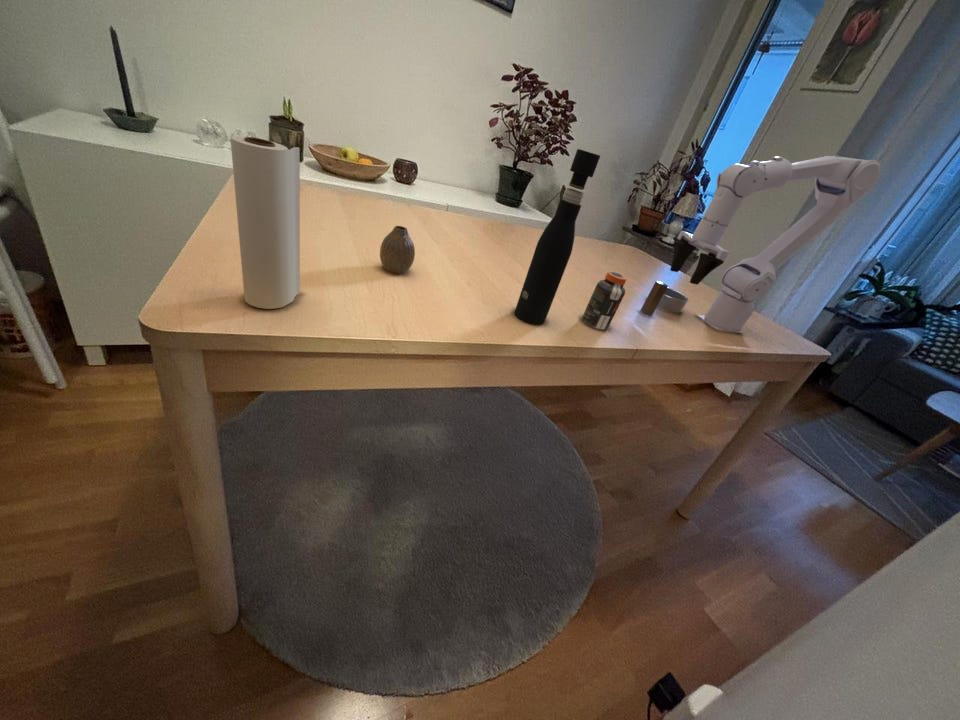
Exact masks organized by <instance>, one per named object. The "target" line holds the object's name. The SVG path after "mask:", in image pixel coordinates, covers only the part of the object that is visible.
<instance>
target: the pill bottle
mask: <svg viewBox="0 0 960 720" xmlns="http://www.w3.org/2000/svg"><path fill="white" fill-rule="evenodd" d="M627 279H628V278H627V277H626V276H625V275H623V274H621V273H620V272H616V271H613V270H612V271H611V270H608V271H607V273H606V274H605V277H604V279H601V280H599V281H597V283H596V286H595V288H594V290H593V292H592V294H591V296H590V299H589V300H588V302H587V305H586V308H585V309H584V312H583V315H582V317H581V319H582V321H583V322H584V323H585V324H587V325H588V326H590V327H591V328H594V329H597V330H607V329H609V327H610V325H611V323H612V321H613V319H614V317H615V315H616V313H617V311H618V309H619V307H620V305H621V303H622V302H623V299H624V297H625V295H626V288H625V287H624V285H625V284H626V281H627Z"/></svg>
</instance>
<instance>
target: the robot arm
mask: <svg viewBox="0 0 960 720" xmlns="http://www.w3.org/2000/svg"><path fill="white" fill-rule="evenodd" d="M880 173H881V163H880V162H879V161H877V160H876V159H875V160H874V159H868V160H867V159H859V158H853V157H845V156H841V155H838V154H837V155H824V156H821V157H816V158H811V159H807V160H801V161H796V162H793V163H792V162H790V161H789V160H788V159H787V158H784V157H783V156H777V155H776V156H772V158H771V159H770V160H766V161H759V160H751V161H750V163H749V164H741V163H733V164H730V165H729V166H727V167H726V168H725V169H724V170H723V171H722V172H721V173H718V175H717V177H716V178H717V179H716V188H715V191H714V192H713V197H712V199H711V201H710V202H709V205H708V207H707V208H706V210H705V212H704V213H703V215H702V218H701V219H700V221H699V223H698V225H697V226H696V227H695V230H694V232H693V233H690V232H688V231H684V230H681V231H680V232H679V234H678V236H677V239H678V240H674V241H673V256H672V260H671V261H672V262H671V265H670V269H669V270H670V272H674V273H679V271H680V270H681V269H682V267H683V266H684V264H685V263H686V261H687V260H688V258H689V257H690V256H691V255H692V253H693V252H694V251H695V250H696V249H699V250H701V251H702V252H700V253H699V259H698V261H697V265H696V268H695V270H694V272H693V274H692V276H691V278H690V279H689V283H690V284H692V285H696V286H697V285H699V284H700V283H701V282H702V281H703V280H704V279H705V278H706V277H707V276H708V275H709V274H710V273H711V272H713V271H714V270H715V269H717V268H718V267H720V266H722V265H723V264H724V262H725V261H726V259H727V258H728V256H729V254H730V253H731V252H730V251H729V250H727V249H725V248H723V247H722V246H720V245H718V244H719V242H720V241H721V239H722V237H723V235H724V233H725V232H726V230H727V228H728V226H729V225H730V223H731V221H732V220H733V218H734V217H735V215H736V213H737V211H738V210H739V208H740V207H741V205H742V203H743V201H744V199H745V198H747V197H750V196H751V195H754V193H755V192H758V191H765V190H772V189H780V188H782V187H784V186H785V185H786V184H787V183H788V182H789V181H795V180H796V181H797V180H803V179H804V180H805V179H813V178H814V198H815V200H816V204H815V205H814V207H812V208H811V209H810V210H809V211H808V212H806V213H805V214H804V215H803V216H802V217H800V218H799V219H798V220H797V221H796V222H795V223H794V224H792V225H791V226H790V227H789V228H788V229H787V230H786V231H784V232H783V233H782V234H781V235H780V236H779V237H777V238H776V239H775V240H774V241H773V242H772V243H770V244H769V245H768V246H767V247H766V248H764V250H762V251H761V252H760V253H759V254H758V255H756V256H752V257H747V258H743V259H742V260H740V262H738V263H736V264H735V265H732V266H730V267H728V268H727V269H726V270H725V271H724V273H722V276H721V278H720V279H721V280H720V283H721V286H720V289H721V290H720V292H718V295H717V296H716V298H715V299H714V301H713V302H712V304H711V305H710V307H709V309H708V311H707V312H706V313H705V315H702V314H696V316H697V317H698V318H700V319H701V320H702V321H704V322H705V323H707V324H708V325H710V326H711V327H712V328H714V329H715V330H718V331H724V332H731V333H739V334H743V332H742V329H743V327H744V326H745V325H746V323H747V322H748V320H749V319H750V318H751V316H752V315H753V313H754V312H755V307H756V305H755V301H757V300H759V299H761V298H762V297H764V295H766V293H767V292H768V291H769V289H770V288H771V287H772V286H773V285H774V284H775V283H776V282H777V277H776V271H777V270H778V269H780V268H781V266H782V265H784V264H785V263H786V262H787V261H789V260H790V259H791V258H792V257H794V256H795V255H796V254H797V253H798V252H799V251H801V250H802V249H803V248H804V247H806V246H807V245H808V244H810V242H812V241H813V240H814V239H815V238H817V237H818V236H819V235H820V234H821V233H823V232H824V231H825V230H826V229H828V228H829V227H830V226H831V225H833V224H834V223H835V222H836V221H837V220H839V218H841V217H842V216H843V215H844V214H845V213H847V211H848V210H849V209H850V208H851V206H852V205H854V204H855V203H856V202H857V201H858V200H860V199H861V198H862V197H863V196H865V194H867V193H869V191H871V190H872V189H873V188H874V187H875V186H876V185H877V181H878V179H879V176H880Z"/></svg>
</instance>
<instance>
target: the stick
mask: <svg viewBox="0 0 960 720" xmlns="http://www.w3.org/2000/svg"><path fill="white" fill-rule="evenodd" d="M667 288H669V285H668V284H667V283H665V282H663V281H658V280H655V281H654V283H653V285H652V287H651V289H650V291H649V293H648V295H647V297H646V299H645V300H644V303H643V304H642V306H641V308H640V309H639V310H640V312H642V313H643V314H644V315H645V316H653V315H654V313H655V311H656V309H657V308H658V304H659V302H660V300H661V298H662V297H663V295H664V293H665V291H666V289H667Z"/></svg>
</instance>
